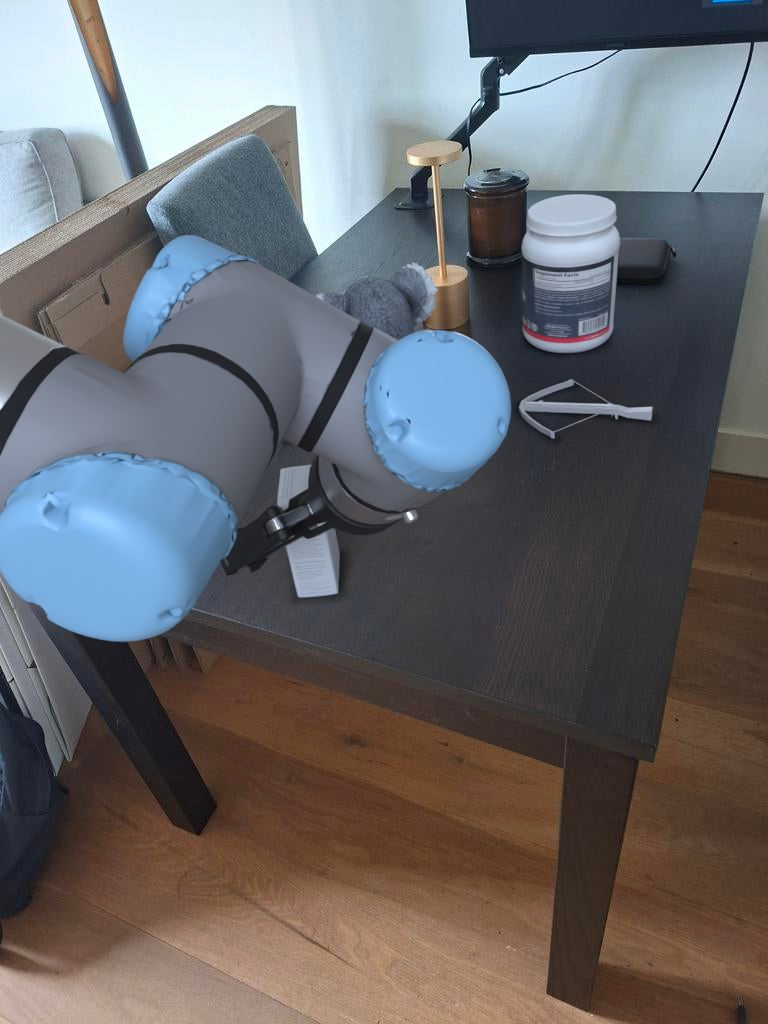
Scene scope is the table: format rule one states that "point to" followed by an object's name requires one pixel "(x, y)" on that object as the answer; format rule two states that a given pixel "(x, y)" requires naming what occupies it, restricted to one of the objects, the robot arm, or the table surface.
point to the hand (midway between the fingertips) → (315, 527)
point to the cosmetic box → (309, 544)
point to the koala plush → (389, 301)
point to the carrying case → (643, 260)
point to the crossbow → (576, 408)
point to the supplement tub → (570, 273)
